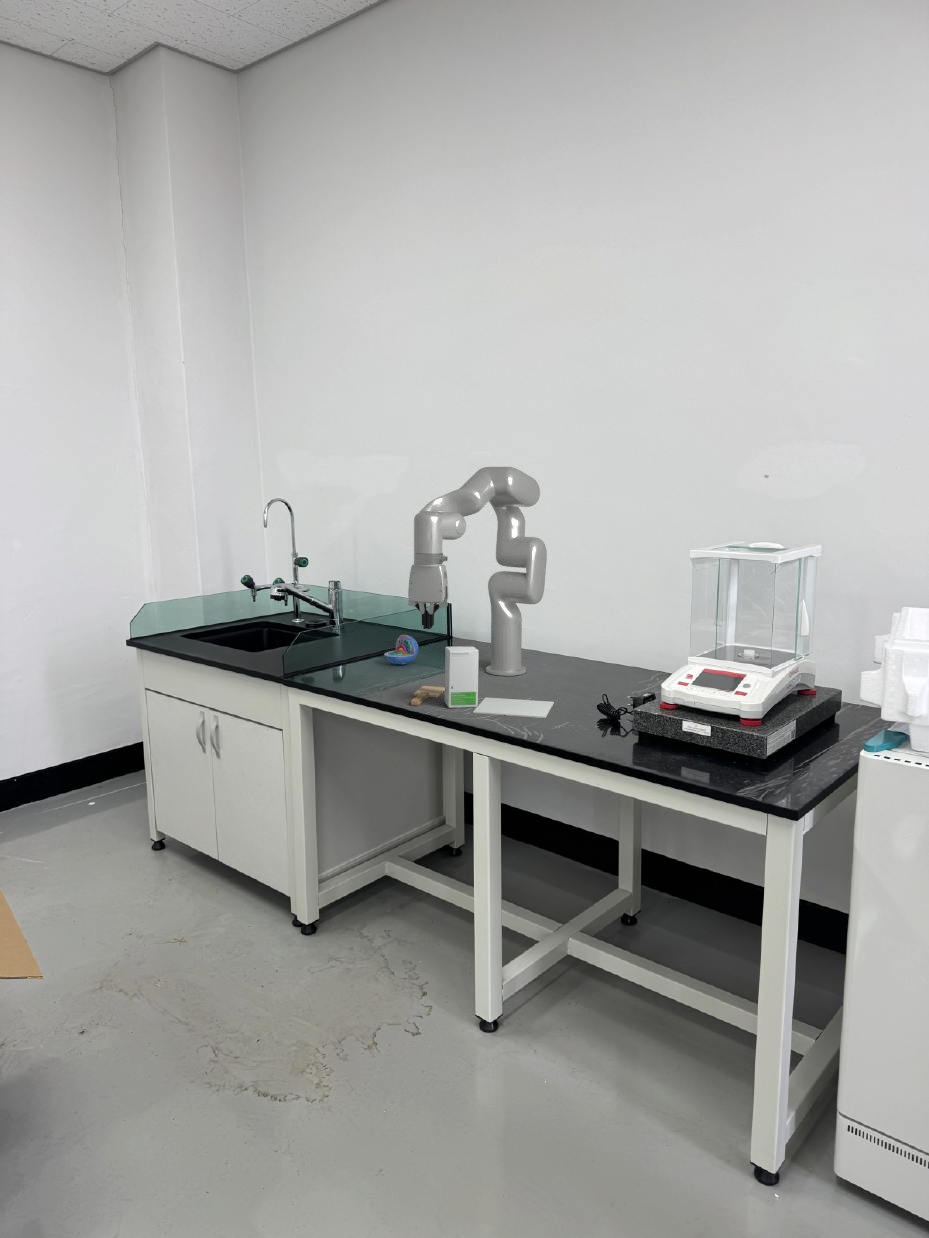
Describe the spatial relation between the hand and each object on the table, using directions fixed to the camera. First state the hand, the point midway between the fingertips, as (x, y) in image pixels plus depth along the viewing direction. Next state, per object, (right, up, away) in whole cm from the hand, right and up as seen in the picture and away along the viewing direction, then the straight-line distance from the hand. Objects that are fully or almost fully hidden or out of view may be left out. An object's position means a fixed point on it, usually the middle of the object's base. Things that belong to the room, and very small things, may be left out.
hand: (427, 628), depth 233 cm
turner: (-1, -19, +11) cm, 22 cm away
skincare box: (+9, -21, +2) cm, 23 cm away
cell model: (-11, -13, +50) cm, 53 cm away
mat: (+23, -21, -2) cm, 31 cm away
